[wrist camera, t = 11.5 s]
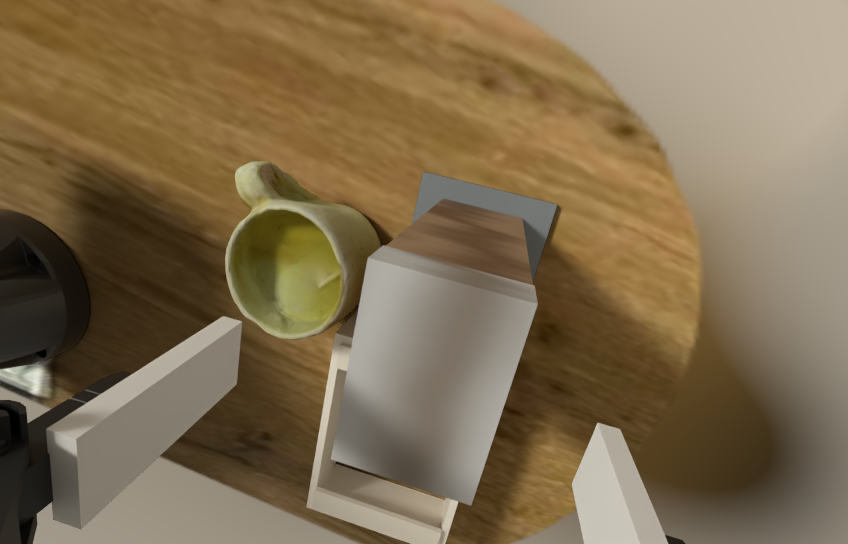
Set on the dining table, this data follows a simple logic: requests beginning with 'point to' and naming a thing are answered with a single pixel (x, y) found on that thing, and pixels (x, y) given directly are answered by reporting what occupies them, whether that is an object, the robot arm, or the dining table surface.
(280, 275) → the mug
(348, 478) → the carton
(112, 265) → the dining table surface
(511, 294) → the walnut box
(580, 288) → the dining table surface
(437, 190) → the mat
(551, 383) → the dining table surface
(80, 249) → the dining table surface
